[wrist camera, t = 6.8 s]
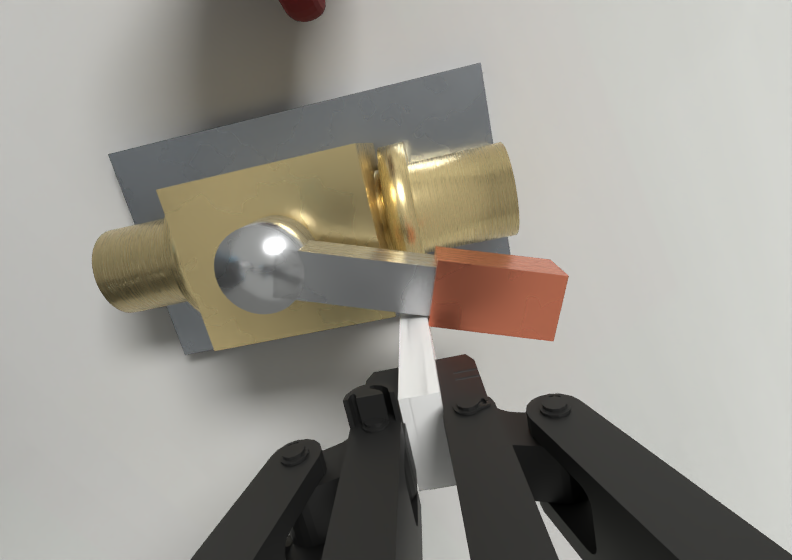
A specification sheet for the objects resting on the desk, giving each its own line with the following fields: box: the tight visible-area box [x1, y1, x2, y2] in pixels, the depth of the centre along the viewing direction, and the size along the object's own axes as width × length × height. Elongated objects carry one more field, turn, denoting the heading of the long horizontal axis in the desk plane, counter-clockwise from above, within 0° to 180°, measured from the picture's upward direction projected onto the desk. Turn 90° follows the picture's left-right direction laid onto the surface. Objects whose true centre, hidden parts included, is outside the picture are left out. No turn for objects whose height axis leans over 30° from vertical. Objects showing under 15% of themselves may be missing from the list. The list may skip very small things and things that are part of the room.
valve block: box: [92, 63, 519, 355], centre depth 22 cm, size 20×12×8 cm, turn 102°
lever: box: [214, 215, 569, 341], centre depth 17 cm, size 12×3×3 cm, turn 84°
